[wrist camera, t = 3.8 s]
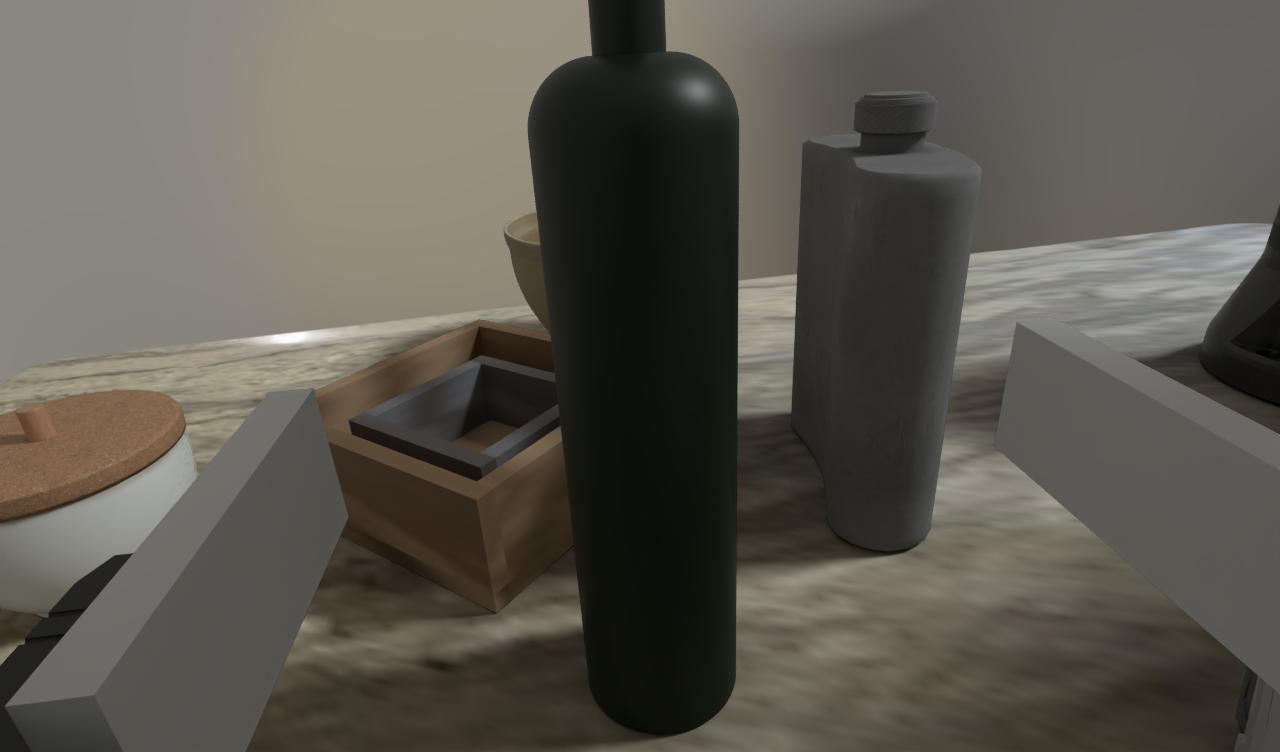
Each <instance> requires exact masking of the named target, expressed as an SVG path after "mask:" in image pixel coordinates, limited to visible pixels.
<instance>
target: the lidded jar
mask: <svg viewBox="0 0 1280 752" xmlns="http://www.w3.org/2000/svg"><path fill="white" fill-rule="evenodd" d="M185 428H186V425H185V418H184V415H183V412H182V409H181V407H180V405H179V404H178V402H177V401H175V400H174V399H173V398H171V397H170V396H168V395H165V394H162V393H158V392H153V391H144V390H117V391H106V392H97V393H89V394H83V395H77V396H72V397H67V398H62V399H58V400H53V401H48V402H44V403H32V404H28V405H25V406H22V407H20V408H18V409H16V410H15V411H13V412H9V413H6V414H4V415H1V416H0V609H4V610H9V611H15V612H22V613H34V614H36V615H37V616H40V617H42V618H48V612H49V611H50V610H51V609H52V608H53V607H54V606H55V605H56V604H57V603H58V601H59V600H60V599H61V598H62V597H63V596H64V595H65V594H66V593H67V591H68V590H69V589H70V588H71V587H72V586H73V585H74V584H75V583H76V582H77V581H79V580H80V579H81V578H83V577H84V576H86V575H87V574H89V573H90V572H91V571H93V570H94V569H96V568H97V567H99V566H100V565H101V564H103V563H104V562H106V561H107V560H109V559H110V558H111V557H113V556H114V555H121V554H130V553H134V552H135V551H136V550H137V549H138V547H139V546H140V545H141V544H142V543H143V541H144V540H145V539H146V538H147V537H148V535H149V534H150V533H151V532H152V531H153V529H154V528H155V527H156V526H157V525H158V524H159V522H160V521H161V520H162V519H163V518H164V516H165V515H166V514H167V513H168V512H169V510H170V509H171V508H172V507H173V506H174V505H175V503H176V502H177V501H178V500H179V499H180V497H181V496H182V495H183V494H184V493H185V491H186V490H187V489H188V488H189V487H190V486H191V484H192V483H193V482H194V481H195V480H196V478H197V477H198V472H197V466H196V461H195V456H194V453H193V449H192V446H191V443H190V440H189V437H188V434H187V432H186V429H185Z"/></svg>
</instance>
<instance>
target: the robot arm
mask: <svg viewBox="0 0 1280 752" xmlns="http://www.w3.org/2000/svg"><path fill="white" fill-rule="evenodd" d="M1199 357H1200V360H1201V362H1202V364H1203V365H1204V366H1205V367H1206V368H1207V369H1208V370H1209V371H1210V372H1211V373H1212V374H1214V375H1215V376H1217V377H1218V378H1220V379H1221V380H1223V381H1225V382H1227V383H1228V384H1230V385H1232V386H1234V387H1236V388H1239V389H1241V390H1243V391H1245V392H1248V393H1250V394H1253V395H1255V396H1258V397H1260V398H1263V399H1266V400H1269V401H1272V402H1275V403H1278V404H1280V205H1279V208H1278V211H1277V214H1276V217H1275V220H1274V223H1273V226H1272V229H1271V233H1270V236H1269V239H1268V242H1267V244H1266V247H1265V250H1264V252H1263V254H1262V256H1261V258H1260V259H1259V260H1258V262H1257V263H1256V264H1255V266H1254V267H1253V268H1252V269H1251V271H1250V272H1249V273H1248V275H1247V276H1246V277H1245V278H1244V280H1243V281H1242V282H1241V284H1240V285H1239V286H1238V287H1237V289H1236V290H1235V291H1234V293H1233V294H1232V295H1231V297H1230V298H1229V299H1228V300H1227V302H1226V303H1225V304H1224V306H1223V307H1222V308H1221V309H1220V311H1219V312H1218V313H1217V315H1216V316H1215V317H1214V318H1213V320H1212V321H1211V323H1210V324H1209V326H1208V328H1207V331H1206V334H1205V337H1204V341H1203V344H1202V347H1201V350H1200V354H1199ZM994 446H995V447H996V448H997V449H998V450H999V451H1000V452H1002V453H1003V454H1004V455H1005V456H1006V457H1007V458H1008V459H1010V460H1011V461H1012V462H1013V463H1014V464H1015V465H1016V466H1018V467H1019V468H1020V469H1021V470H1022V471H1023V472H1025V473H1026V474H1027V475H1028V476H1029V477H1030V478H1031V479H1033V480H1034V481H1035V482H1036V483H1037V484H1038V485H1039V486H1041V487H1042V488H1043V489H1044V490H1045V491H1046V492H1048V493H1049V494H1050V495H1051V496H1052V497H1053V498H1054V499H1056V500H1057V501H1058V502H1059V503H1060V504H1061V505H1062V506H1064V507H1065V508H1066V509H1067V510H1068V511H1069V512H1071V513H1072V514H1073V515H1074V516H1075V517H1076V518H1077V519H1079V520H1080V521H1081V522H1082V523H1083V524H1084V525H1086V526H1087V527H1088V528H1089V529H1090V530H1091V531H1092V532H1094V533H1095V534H1096V535H1097V536H1098V537H1099V538H1100V539H1102V540H1103V541H1104V542H1105V543H1106V544H1107V545H1109V546H1110V547H1111V548H1112V549H1113V550H1114V551H1115V552H1117V553H1118V554H1119V555H1120V556H1121V557H1122V558H1123V559H1125V560H1126V561H1127V562H1128V563H1129V564H1130V565H1132V566H1133V567H1134V568H1135V569H1136V570H1137V571H1138V572H1140V573H1141V574H1142V575H1143V576H1144V577H1145V578H1146V579H1148V580H1149V581H1150V582H1151V583H1152V584H1153V585H1155V586H1156V587H1157V588H1158V589H1159V590H1160V591H1161V592H1163V593H1164V594H1165V595H1166V596H1167V597H1168V598H1169V599H1171V600H1172V601H1173V602H1174V603H1175V604H1176V605H1178V606H1179V607H1180V608H1181V609H1182V610H1183V611H1184V612H1186V613H1187V614H1188V615H1189V616H1190V617H1191V618H1192V619H1194V620H1195V621H1196V622H1197V623H1198V624H1199V625H1201V626H1202V627H1203V628H1204V629H1205V630H1206V631H1207V632H1209V633H1210V634H1211V635H1212V636H1213V637H1214V638H1215V639H1217V640H1218V641H1219V642H1220V643H1221V644H1222V645H1224V646H1225V647H1226V648H1227V649H1228V650H1229V651H1230V652H1232V653H1233V654H1234V655H1235V656H1236V657H1237V658H1239V659H1240V660H1241V661H1242V662H1243V663H1244V664H1245V665H1247V666H1248V667H1249V668H1250V669H1251V670H1252V671H1253V672H1255V673H1256V674H1257V675H1258V676H1259V677H1260V678H1262V679H1263V680H1264V681H1265V682H1266V683H1267V684H1268V685H1270V686H1271V687H1272V688H1273V689H1274V690H1275V691H1276V692H1278V693H1279V694H1280V434H1278V433H1276V432H1274V431H1272V430H1270V429H1268V428H1267V427H1265V426H1263V425H1261V424H1259V423H1257V422H1255V421H1253V420H1251V419H1249V418H1247V417H1245V416H1243V415H1241V414H1239V413H1237V412H1235V411H1233V410H1231V409H1230V408H1228V407H1226V406H1224V405H1222V404H1220V403H1218V402H1216V401H1214V400H1212V399H1210V398H1208V397H1206V396H1204V395H1202V394H1200V393H1198V392H1196V391H1194V390H1192V389H1191V388H1189V387H1187V386H1185V385H1183V384H1181V383H1179V382H1177V381H1175V380H1173V379H1171V378H1169V377H1167V376H1165V375H1163V374H1161V373H1159V372H1157V371H1155V370H1154V369H1152V368H1150V367H1148V366H1146V365H1144V364H1142V363H1140V362H1138V361H1136V360H1134V359H1132V358H1130V357H1128V356H1126V355H1124V354H1122V353H1120V352H1118V351H1117V350H1115V349H1113V348H1111V347H1109V346H1107V345H1105V344H1103V343H1101V342H1099V341H1097V340H1095V339H1093V338H1091V337H1089V336H1087V335H1085V334H1083V333H1081V332H1080V331H1078V330H1076V329H1074V328H1072V327H1070V326H1068V325H1066V324H1064V323H1062V322H1060V321H1058V320H1056V319H1043V320H1033V321H1022V322H1017V323H1016V328H1015V334H1014V340H1013V345H1012V351H1011V356H1010V362H1009V367H1008V373H1007V378H1006V384H1005V390H1004V395H1003V401H1002V406H1001V412H1000V417H999V423H998V428H997V434H996V439H995V445H994ZM347 519H348V513H347V510H346V506H345V502H344V498H343V495H342V491H341V487H340V484H339V480H338V476H337V473H336V469H335V465H334V462H333V458H332V454H331V450H330V447H329V443H328V439H327V436H326V432H325V428H324V425H323V421H322V417H321V414H320V410H319V406H318V403H317V399H316V395H315V391H314V388H312V389H301V390H290V391H280V392H269V393H268V394H267V395H266V396H265V398H264V399H263V400H262V401H261V402H260V404H259V405H258V406H257V407H256V408H255V409H254V411H253V412H252V413H251V414H250V415H249V417H248V418H247V419H246V420H245V421H244V423H243V424H242V425H241V426H240V427H239V428H238V430H237V431H236V432H235V433H234V434H233V436H232V437H231V438H230V439H229V440H228V442H227V443H226V444H225V445H224V446H223V447H222V449H221V450H220V451H219V452H218V453H217V455H216V456H215V457H214V458H213V459H212V461H211V462H210V463H209V464H208V465H207V467H206V468H205V469H204V470H203V471H202V472H201V474H200V475H199V476H198V477H197V478H196V480H195V481H194V482H193V483H192V484H191V486H190V487H189V488H188V489H187V490H186V491H185V493H184V494H183V495H182V496H181V497H180V499H179V500H178V501H177V502H176V503H175V505H174V506H173V507H172V508H171V509H170V510H169V512H168V513H167V514H166V515H165V516H164V518H163V519H162V520H161V521H160V522H159V524H158V525H157V526H156V527H155V528H154V529H153V531H152V532H151V533H150V534H149V535H148V537H147V538H146V539H145V540H144V541H143V543H142V544H141V545H140V546H139V547H138V549H137V550H136V551H135V552H134V553H130V554H121V555H114V556H113V557H111V558H110V559H109V560H107V561H106V562H104V563H103V564H101V565H100V566H99V567H97V568H96V569H94V570H93V571H91V572H90V573H89V574H87V575H86V576H84V577H83V578H81V579H80V580H79V581H77V582H76V583H75V584H74V585H73V586H72V587H71V588H70V589H69V590H68V591H67V593H66V594H65V595H64V596H63V597H62V598H61V599H60V600H59V601H58V603H57V604H56V605H55V606H54V607H53V608H52V609H51V610H50V611H49V612H48V618H47V619H42V620H41V621H40V622H39V624H38V625H37V626H36V627H35V628H34V629H33V630H32V631H31V632H30V633H29V635H28V636H27V637H26V638H25V644H24V645H19V646H18V647H17V648H16V649H15V650H14V651H13V652H12V653H11V654H10V656H9V657H8V658H7V659H6V660H5V661H4V662H3V663H2V664H1V665H0V752H246V750H247V748H248V745H249V743H250V741H251V739H252V736H253V734H254V732H255V729H256V727H257V725H258V723H259V720H260V718H261V716H262V713H263V711H264V709H265V707H266V704H267V702H268V700H269V698H270V695H271V693H272V691H273V688H274V686H275V684H276V682H277V679H278V677H279V675H280V672H281V670H282V668H283V666H284V663H285V661H286V659H287V656H288V654H289V652H290V650H291V647H292V645H293V643H294V640H295V638H296V636H297V634H298V631H299V629H300V627H301V624H302V622H303V620H304V618H305V615H306V613H307V611H308V608H309V606H310V604H311V602H312V599H313V597H314V595H315V593H316V590H317V588H318V586H319V583H320V581H321V579H322V577H323V574H324V572H325V570H326V567H327V565H328V563H329V561H330V558H331V556H332V554H333V551H334V549H335V547H336V545H337V542H338V540H339V538H340V535H341V533H342V531H343V529H344V526H345V524H346V522H347Z"/></svg>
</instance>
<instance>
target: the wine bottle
mask: <svg viewBox="0 0 1280 752" xmlns="http://www.w3.org/2000/svg"><path fill="white" fill-rule="evenodd" d="M588 3H589V17H590V30H591V44H592V56H586V57H582V58H578V59H574V60H572V61H569V62H567V63H565V64H563V65H562V66H560V67H559V68H557V69H556V70H555V71H553V72H552V73H551V74H550V75H549V76H548V77H547V78H546V79H545V80H544V82H543V83H542V84H541V86H540V87H539V89H538V91H537V92H536V94H535V97H534V99H533V101H532V105H531V108H530V112H529V117H528V140H529V149H530V158H531V167H532V175H533V184H534V192H535V202H536V211H537V220H538V229H539V238H540V247H541V256H542V265H543V274H544V283H545V292H546V301H547V309H548V318H549V327H550V336H551V345H552V354H553V363H554V372H555V381H556V390H557V399H558V408H559V417H560V426H561V435H562V444H563V452H564V461H565V470H566V479H567V488H568V497H569V506H570V515H571V524H572V533H573V542H574V551H575V560H576V569H577V578H578V587H579V595H580V604H581V613H582V622H583V631H584V640H585V649H586V658H587V667H588V676H589V684H590V688H591V692H592V694H593V697H594V699H595V700H596V702H597V704H598V705H599V706H600V708H601V709H602V710H603V711H604V712H605V713H606V714H607V715H608V716H609V717H610V718H612V719H613V720H615V721H616V722H618V723H619V724H621V725H623V726H625V727H628V728H630V729H633V730H636V731H640V732H645V733H652V734H671V733H678V732H682V731H686V730H689V729H692V728H695V727H697V726H699V725H701V724H703V723H705V722H706V721H708V720H709V719H711V718H712V717H713V716H715V715H716V714H717V713H718V712H719V711H720V710H721V709H722V708H723V707H724V705H725V704H726V702H727V701H728V699H729V697H730V696H731V693H732V691H733V688H734V684H735V678H736V546H737V383H738V220H739V217H738V216H739V214H738V213H739V202H738V201H739V115H738V109H737V105H736V101H735V98H734V96H733V93H732V91H731V89H730V87H729V86H728V84H727V82H726V81H725V80H724V78H723V77H722V76H721V75H720V73H719V72H718V71H717V70H716V69H714V68H713V67H712V66H711V65H710V64H708V63H707V62H705V61H703V60H701V59H700V58H698V57H695V56H692V55H690V54H686V53H681V52H666V32H665V2H664V0H588Z"/></svg>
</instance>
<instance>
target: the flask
mask: <svg viewBox="0 0 1280 752" xmlns="http://www.w3.org/2000/svg"><path fill="white" fill-rule="evenodd" d="M937 105H938V101H937V100H935V99H934V96H932V95H930V94H929V92H926V91H893V92H876V93H868V94H865V96H864V97H863V98H860V100H859V102H857V103H855V117H854V130H855V131H857V132H860V133H861V134H840V135H827V136H821V137H815V138H811V139H809V140H808V141H806V142H805V143H803V150H802V151H803V152H802V175H801V198H800V222H799V247H798V269H797V293H796V317H795V341H794V365H793V389H792V413H791V426H792V427H793V429H794V430H795V431H796V432H797V434H798V435H799V436H800V437H801V438H802V440H803V441H804V442H805V443H806V444H807V445H808V447H809V449H810V450H811V452H812V454H813V455H814V457H815V459H816V461H817V463H818V465H819V467H820V470H821V474H822V477H823V480H824V484H825V489H826V511H827V522H828V523H829V525H830V526H831V528H832V529H833V531H834V532H835V533H836V534H837V535H839V536H840V537H842V538H843V539H845V540H847V541H848V542H850V543H851V544H853V545H856V546H860V547H863V548H866V549H869V550H877V551H896V550H902V549H907V548H911V547H913V546H915V545H916V544H918V543H920V542H921V541H923V540H924V539H925V538H926V536H927V534H928V532H929V530H930V527H931V520H932V513H933V506H934V499H935V492H936V485H937V478H938V472H939V465H940V458H941V451H942V444H943V437H944V430H945V423H946V416H947V409H948V402H949V396H950V389H951V382H952V375H953V368H954V361H955V354H956V347H957V340H958V333H959V327H960V320H961V313H962V306H963V299H964V292H965V285H966V278H967V271H968V264H969V258H970V251H971V244H972V236H973V230H974V223H975V216H976V209H977V202H978V195H979V188H980V181H981V174H982V169H981V168H980V167H979V166H978V165H977V164H976V163H975V162H974V161H973V160H971V159H970V158H969V157H967V156H965V155H963V154H961V153H959V152H956V151H954V150H952V149H949V148H946V147H943V146H939V145H936V144H933V143H928V142H925V139H926V131H930V130H932V129H934V128H935V123H936V115H937Z"/></svg>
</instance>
